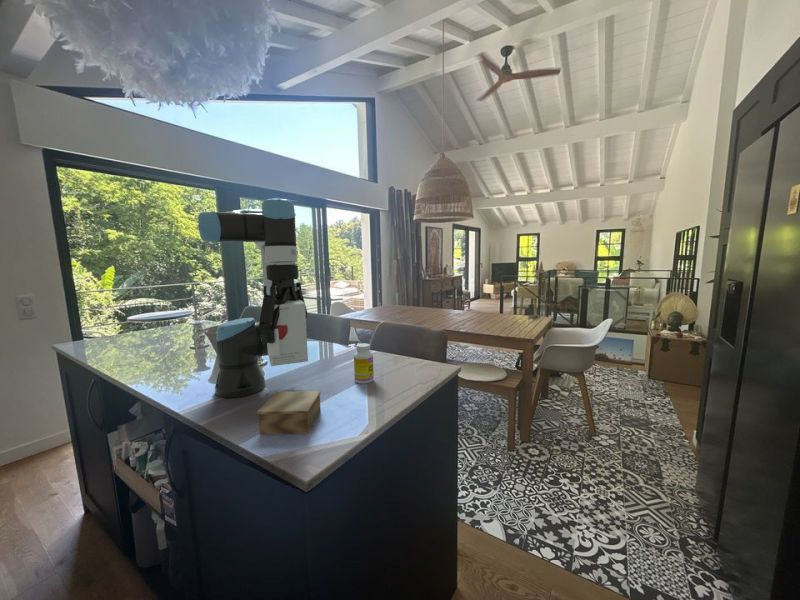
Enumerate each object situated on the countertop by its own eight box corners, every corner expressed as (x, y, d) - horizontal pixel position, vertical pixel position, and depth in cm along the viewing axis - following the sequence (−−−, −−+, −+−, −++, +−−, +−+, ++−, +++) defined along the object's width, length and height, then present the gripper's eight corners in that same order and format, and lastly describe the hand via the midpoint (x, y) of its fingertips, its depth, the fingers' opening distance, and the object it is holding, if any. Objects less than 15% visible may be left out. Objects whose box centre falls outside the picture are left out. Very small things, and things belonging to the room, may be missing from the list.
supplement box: (270, 367, 81) (265, 305, 79) (268, 357, 89) (264, 301, 88) (309, 361, 85) (305, 302, 83) (304, 353, 93) (300, 298, 91)
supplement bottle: (370, 384, 115) (369, 347, 113) (352, 383, 116) (350, 347, 114) (376, 377, 121) (374, 342, 120) (358, 377, 122) (357, 342, 121)
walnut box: (259, 434, 83) (257, 411, 83) (277, 412, 96) (276, 391, 95) (309, 434, 83) (307, 410, 82) (321, 411, 95) (320, 391, 95)
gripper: (268, 264, 72) (275, 363, 74) (317, 262, 95) (321, 338, 98) (236, 265, 73) (244, 362, 76) (292, 263, 97) (297, 337, 99)
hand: (287, 348), depth 87 cm, fingers closed on supplement box, 12 cm apart
